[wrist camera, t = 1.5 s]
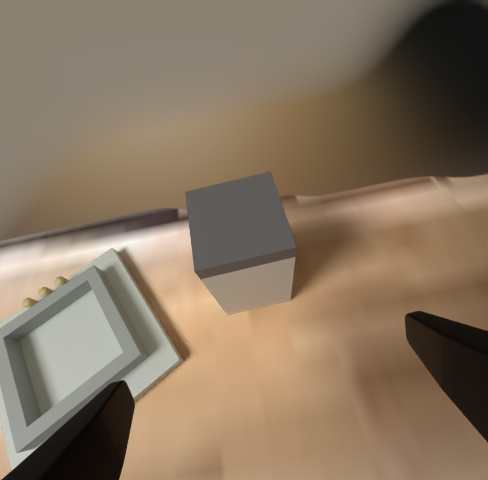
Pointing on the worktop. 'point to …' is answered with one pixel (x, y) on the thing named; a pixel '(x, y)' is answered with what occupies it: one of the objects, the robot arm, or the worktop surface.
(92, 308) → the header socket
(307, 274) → the worktop surface
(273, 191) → the block
